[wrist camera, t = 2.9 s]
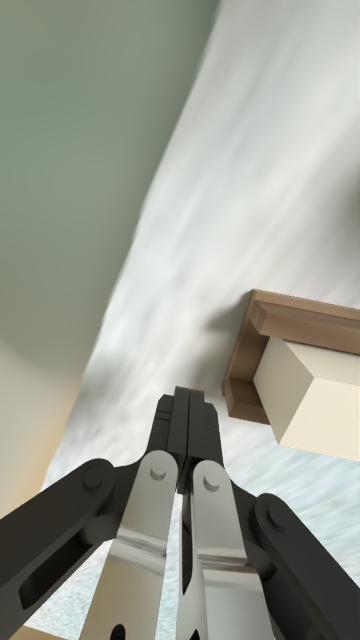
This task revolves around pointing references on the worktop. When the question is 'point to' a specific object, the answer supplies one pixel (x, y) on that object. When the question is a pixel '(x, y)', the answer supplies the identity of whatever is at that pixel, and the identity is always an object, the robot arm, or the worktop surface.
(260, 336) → the walnut chute
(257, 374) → the sand block
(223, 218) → the worktop surface
